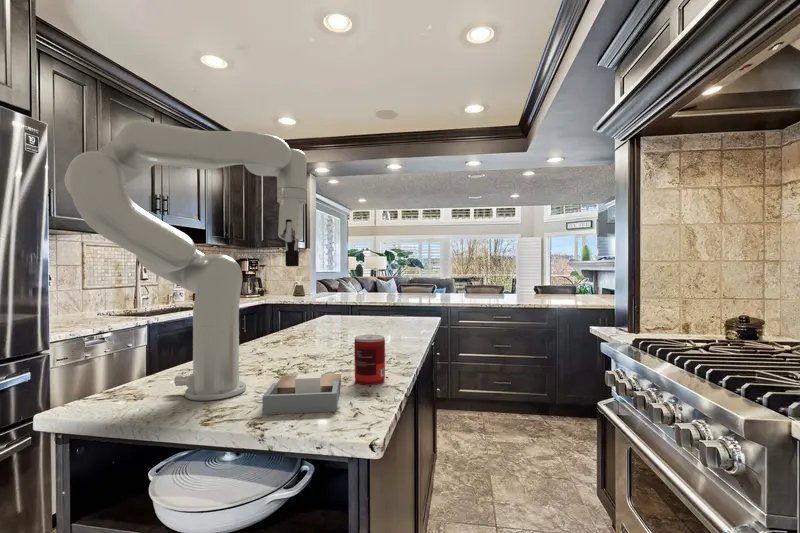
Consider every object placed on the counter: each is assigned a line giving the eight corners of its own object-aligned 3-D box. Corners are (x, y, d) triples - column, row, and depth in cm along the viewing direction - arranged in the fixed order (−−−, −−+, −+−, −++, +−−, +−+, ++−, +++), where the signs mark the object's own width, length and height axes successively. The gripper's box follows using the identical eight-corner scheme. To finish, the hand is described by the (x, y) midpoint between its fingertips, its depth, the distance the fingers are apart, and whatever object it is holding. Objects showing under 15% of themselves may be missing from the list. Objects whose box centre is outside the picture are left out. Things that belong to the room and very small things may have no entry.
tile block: (298, 397, 83) (295, 403, 79) (298, 373, 83) (295, 378, 79) (321, 396, 83) (320, 402, 79) (321, 373, 84) (320, 377, 80)
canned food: (379, 375, 103) (378, 333, 103) (389, 383, 95) (389, 338, 95) (351, 378, 100) (350, 335, 100) (359, 386, 92) (359, 340, 92)
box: (262, 414, 74) (262, 396, 74) (272, 399, 83) (272, 383, 83) (336, 411, 76) (336, 393, 76) (338, 397, 84) (338, 380, 85)
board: (272, 399, 83) (272, 388, 83) (281, 386, 93) (281, 376, 93) (338, 397, 84) (338, 385, 85) (340, 384, 94) (340, 373, 94)
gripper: (283, 202, 110) (283, 267, 110) (271, 191, 95) (271, 265, 95) (309, 202, 111) (310, 266, 110) (302, 191, 96) (302, 265, 96)
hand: (292, 266), depth 103 cm, fingers closed
